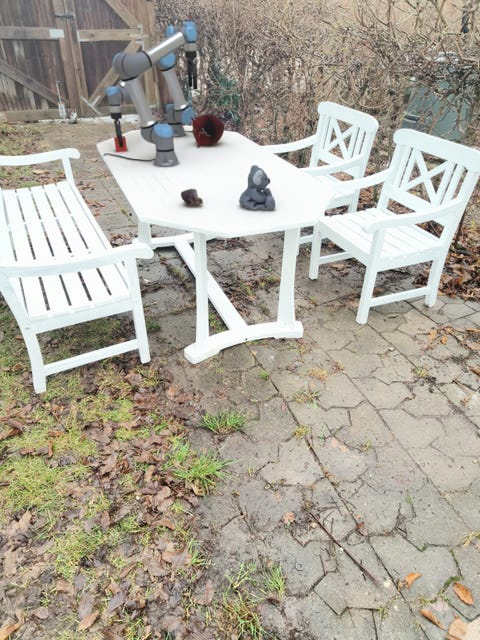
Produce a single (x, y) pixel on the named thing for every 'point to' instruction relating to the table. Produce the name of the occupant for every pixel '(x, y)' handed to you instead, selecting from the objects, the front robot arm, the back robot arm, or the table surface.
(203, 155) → the table surface
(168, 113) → the back robot arm
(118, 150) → the brick
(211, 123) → the dark red round lump
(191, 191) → the rock
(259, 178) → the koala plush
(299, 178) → the table surface
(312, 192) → the table surface
